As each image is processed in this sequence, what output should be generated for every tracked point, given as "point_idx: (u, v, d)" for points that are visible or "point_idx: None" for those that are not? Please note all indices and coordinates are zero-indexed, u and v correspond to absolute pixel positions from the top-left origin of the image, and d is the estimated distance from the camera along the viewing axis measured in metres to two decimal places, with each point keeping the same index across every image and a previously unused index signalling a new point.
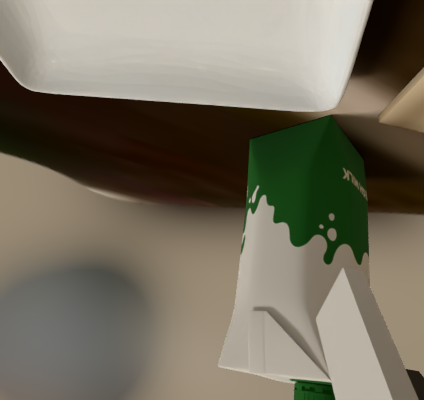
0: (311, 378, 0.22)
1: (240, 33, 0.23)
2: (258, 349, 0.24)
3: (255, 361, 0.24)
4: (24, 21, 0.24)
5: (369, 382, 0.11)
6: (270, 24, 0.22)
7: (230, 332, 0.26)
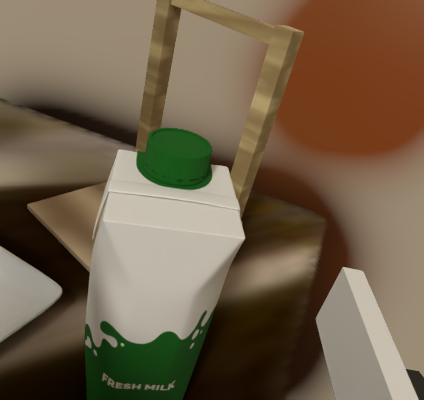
0: (117, 157, 0.25)
1: None
2: (101, 202, 0.23)
3: (104, 194, 0.22)
4: None
5: (369, 382, 0.11)
6: None
7: (101, 243, 0.22)
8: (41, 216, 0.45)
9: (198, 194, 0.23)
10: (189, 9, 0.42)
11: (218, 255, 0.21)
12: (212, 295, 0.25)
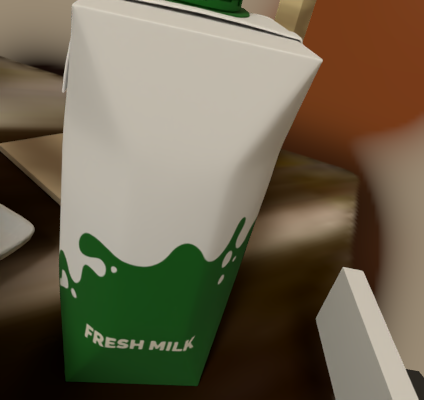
0: None
1: None
2: None
3: None
4: None
5: (369, 382, 0.11)
6: None
7: (73, 74, 0.12)
8: (15, 156, 0.36)
9: (234, 16, 0.14)
10: None
11: (276, 93, 0.12)
12: (255, 190, 0.16)
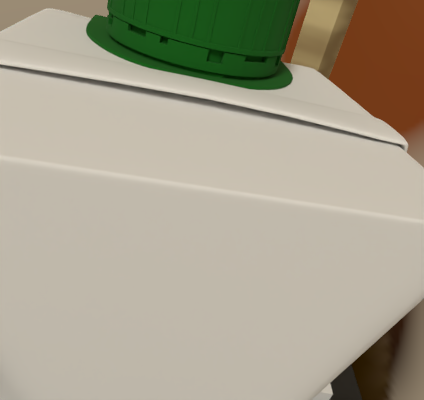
0: None
1: None
2: None
3: None
4: None
5: None
6: None
7: None
8: None
9: (273, 97, 0.07)
10: None
11: (381, 302, 0.05)
12: None
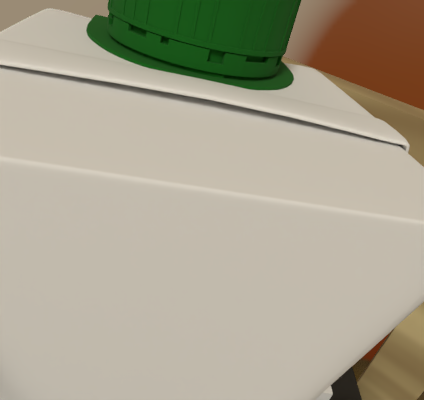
0: None
1: None
2: None
3: None
4: None
5: None
6: None
7: None
8: None
9: (274, 97, 0.07)
10: None
11: (383, 303, 0.05)
12: None
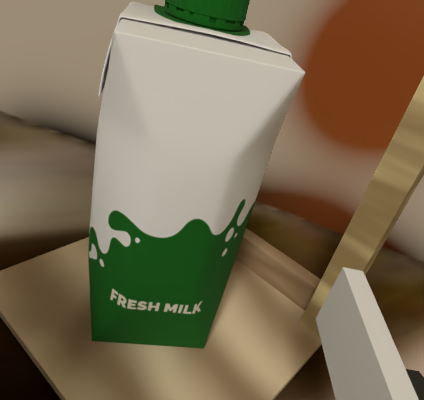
0: (130, 4, 0.20)
1: None
2: None
3: None
4: None
5: (369, 382, 0.11)
6: None
7: (110, 82, 0.16)
8: (0, 305, 0.25)
9: (236, 36, 0.18)
10: None
11: (268, 98, 0.16)
12: (253, 177, 0.19)
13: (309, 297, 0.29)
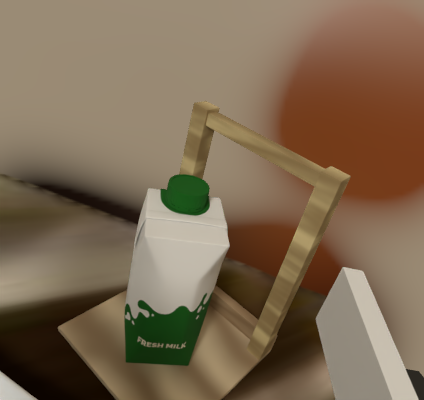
0: (148, 194, 0.39)
1: None
2: (140, 224, 0.37)
3: (142, 219, 0.36)
4: None
5: (369, 382, 0.11)
6: None
7: (141, 249, 0.35)
8: (73, 342, 0.44)
9: (200, 218, 0.37)
10: (226, 134, 0.41)
11: (213, 256, 0.35)
12: (210, 283, 0.38)
13: (253, 333, 0.49)
